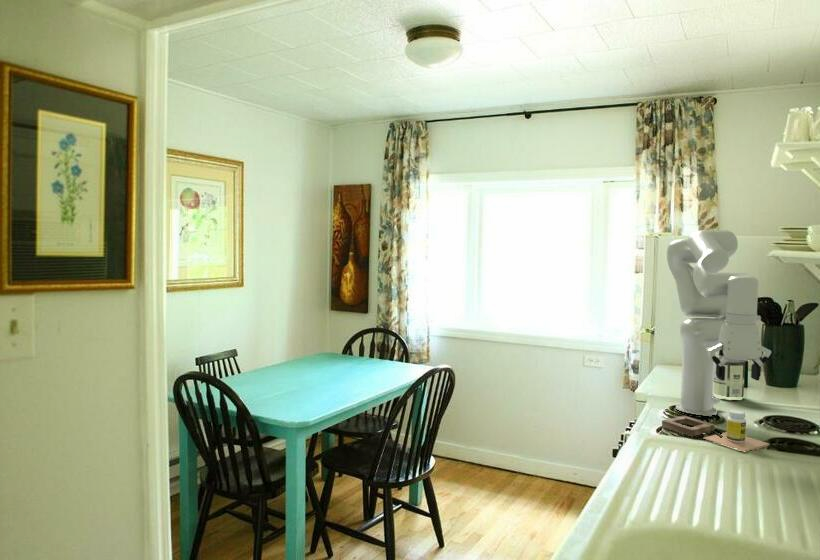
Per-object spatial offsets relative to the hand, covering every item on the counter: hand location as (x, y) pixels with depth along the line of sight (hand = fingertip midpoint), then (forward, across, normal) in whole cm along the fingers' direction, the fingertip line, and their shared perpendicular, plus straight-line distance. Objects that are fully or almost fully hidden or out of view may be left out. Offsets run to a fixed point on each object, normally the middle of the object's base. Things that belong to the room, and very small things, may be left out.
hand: (737, 379), depth 170 cm
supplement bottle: (+18, 0, +1) cm, 18 cm away
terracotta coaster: (+18, 0, +1) cm, 18 cm away
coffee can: (+20, -22, -48) cm, 56 cm away
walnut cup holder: (+19, +9, -10) cm, 23 cm away
